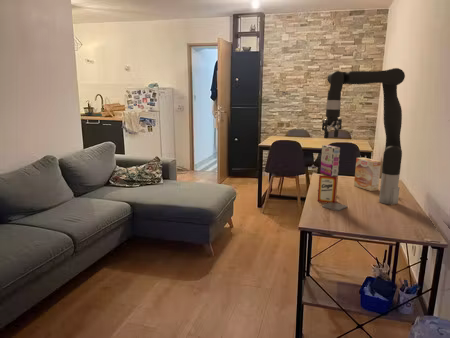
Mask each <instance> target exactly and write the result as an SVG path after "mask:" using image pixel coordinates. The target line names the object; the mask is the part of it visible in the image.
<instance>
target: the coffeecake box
mask: <svg viewBox="0 0 450 338" xmlns="http://www.w3.org/2000/svg"><path fill="white" fill-rule="evenodd" d="M381 165H382V161H381V160H377V159H371V158H369V157H368V158H367V157H356V160H355V171H354V182H353V186H354V187H357V188H360V189H364V190H366V191H370V192H373V191H375V192H376V191H379V186H380V185H379V184H380V175H381V169H382V166H381Z"/></svg>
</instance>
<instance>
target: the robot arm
mask: <svg viewBox="0 0 450 338" xmlns="http://www.w3.org/2000/svg"><path fill="white" fill-rule="evenodd" d="M326 78H327V82H328V83H329V84H330V85H329V90H328V91H327V101H326V104H325V106H326V109H325V118H326V119H325V118H323V119H322V122H321V123H322V124H321V131H324V135H323V137H324V139H329V133H330V132H329V131H330V130H331V129H332V128H333V130H334V131H333V137H334V138H338V137H339V131H340V130H342V123H343V119H342V118H340V116H341V105H342V104H341V103H342V102H341V98H342V89H343V87H344V85H368V84H381V85H382V92H383V93H382V94H383V126H384V134H385V145H384V146H385V147H384V152H383V158H382V164H381V165H382V166H381V178H380V185H379V186H380V188H379V196H378V197H379V199H378V202H379V203H381V204H384V205H391V206H393V205H396V204H398V203H399V196H400V188H401V187H399V182H400V174H401V167H402V157H403V150H402V144H401V131H402V124H403V123H402V122H403V121H402V120H403V110H402V105H401V102H400V100H399V98H398V85H400V84H402V83H403V82H404V81H405V78H406V75H405V71H403V69H401V68H399V67H394V68H390V69H386V70H374V71H373V70H350V71H339V70H336V71H332V72H329V74H328V75H327V77H326Z"/></svg>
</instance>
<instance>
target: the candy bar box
mask: <svg viewBox="0 0 450 338" xmlns="http://www.w3.org/2000/svg"><path fill="white" fill-rule="evenodd" d="M340 156H341V147H339V146H336V145H335V146H334V145H329V144H325V145H324V144H323V145H321V157H320V174H321V173H323V174H326V175H328V176H338V177H339V172H340V171H339V168H340V160H341V159H340Z"/></svg>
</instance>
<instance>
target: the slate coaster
mask: <svg viewBox="0 0 450 338" xmlns="http://www.w3.org/2000/svg"><path fill="white" fill-rule="evenodd" d="M321 207H322V208H324V207H325V208H324V209H328V208H329V210H332V211H333V210H334V211H336V212H341V211H343V210H344V209H346V208H348V205H346V204H341V203H336V202H335V203H333V202H330V203H326V204H322V205H321Z"/></svg>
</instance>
